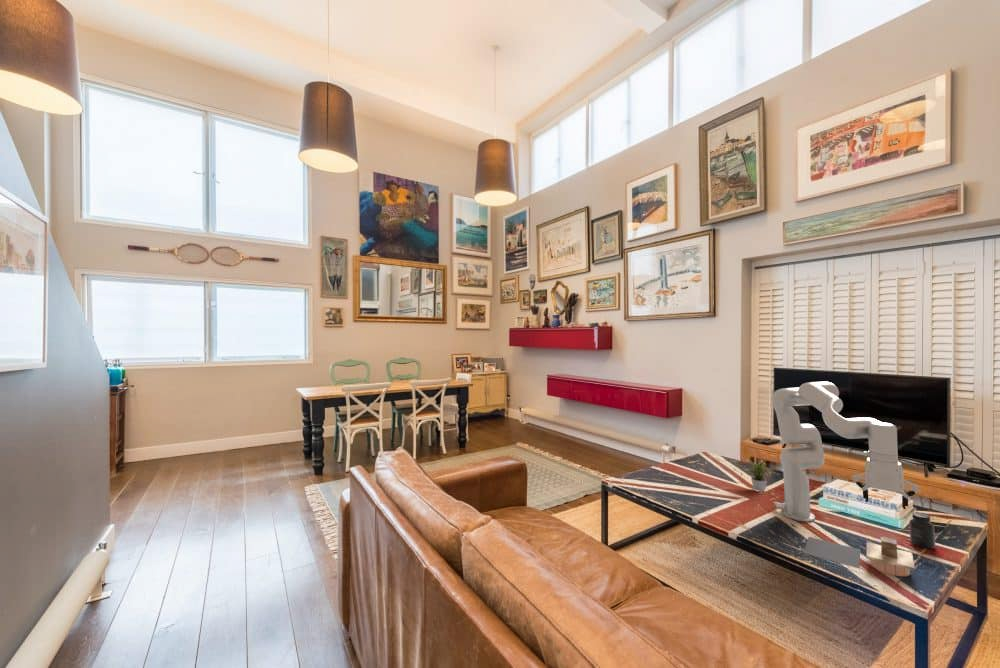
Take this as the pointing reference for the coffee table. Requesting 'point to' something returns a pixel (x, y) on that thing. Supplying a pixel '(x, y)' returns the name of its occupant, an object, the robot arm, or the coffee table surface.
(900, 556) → the lid
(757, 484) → the house plant
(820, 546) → the mat
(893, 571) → the bowl
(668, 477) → the coffee table surface
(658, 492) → the coffee table surface
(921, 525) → the supplement bottle
